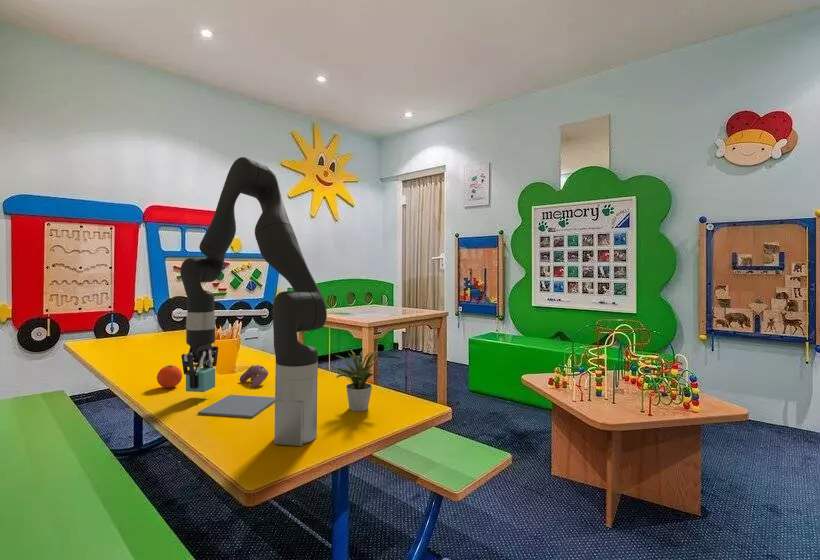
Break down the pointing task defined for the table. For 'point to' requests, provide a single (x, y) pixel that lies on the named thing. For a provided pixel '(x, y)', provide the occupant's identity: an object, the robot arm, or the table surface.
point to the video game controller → (255, 375)
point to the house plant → (358, 382)
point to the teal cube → (203, 380)
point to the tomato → (169, 376)
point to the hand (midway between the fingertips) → (200, 385)
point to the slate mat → (239, 406)
